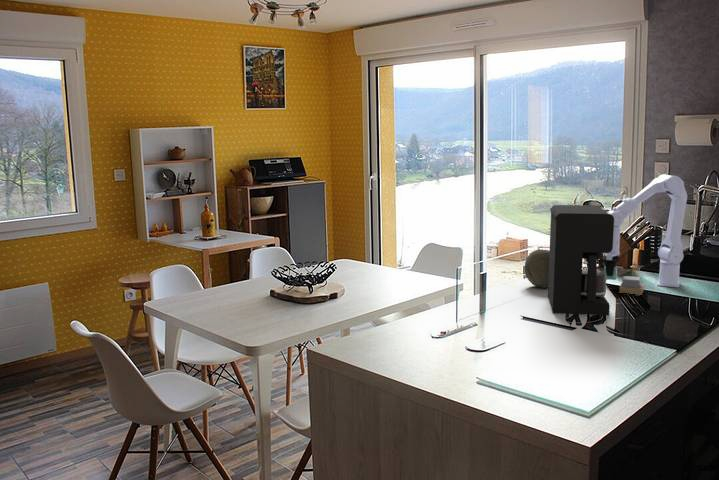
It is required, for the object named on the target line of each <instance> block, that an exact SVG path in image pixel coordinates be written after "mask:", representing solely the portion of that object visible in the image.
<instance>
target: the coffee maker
mask: <svg viewBox="0 0 719 480" xmlns="http://www.w3.org/2000/svg"><path fill="white" fill-rule="evenodd" d="M604 207H605V206H604V205H595V204H594V205H589V204H587V205H582V204H580V205H578V204H576V205H575V204H570V205H569V204H554V205H552V206H551V207H550V227H549V229H550V231H549V250H550V253H549V279H548V287H547V298H548V302H549V304H550V310H551V312H552V314H564V315H566V314H567V315H582V314H590V315H589V316H605V315H609V316H610V308H611V307H610V306H611V305H610V304H609V301H608V300H607V299H606V297H605V296H606V294H607V289H606V287H607V280H608V279H607V278H606V273H605V272H604V270H603V271H602V270H599V269H598V265H597V264H598V262H597V260H600V259H603V258H604V257H603V253H609V252H611V251H612V249H613V233H614V217H613V215H612V214H610V213H609V212H608V211H610V210H609V209H606V208H604ZM584 259H585V260H587V268H583V260H584ZM603 264H605V263H604V262H603Z"/></svg>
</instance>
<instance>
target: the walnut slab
mask: <svg viewBox="0 0 719 480" xmlns="http://www.w3.org/2000/svg"><path fill="white" fill-rule="evenodd" d="M644 289H645V285H644V284H641V283H640V287H639V288H631V287H622V283H620V286H619V291H618V293H629V294H637V295H636V296H640V295H642V296H643V294H644ZM642 293H643V294H642ZM629 294H628V295H629Z"/></svg>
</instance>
